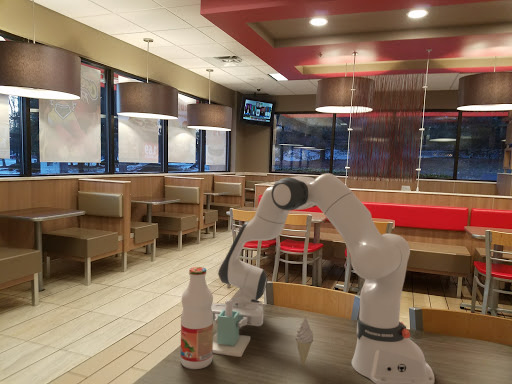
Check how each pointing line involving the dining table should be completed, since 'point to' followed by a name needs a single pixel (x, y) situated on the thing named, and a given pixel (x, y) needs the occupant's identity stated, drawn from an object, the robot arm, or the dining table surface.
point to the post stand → (228, 349)
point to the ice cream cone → (304, 340)
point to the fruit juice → (197, 322)
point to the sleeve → (227, 328)
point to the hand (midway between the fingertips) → (227, 324)
